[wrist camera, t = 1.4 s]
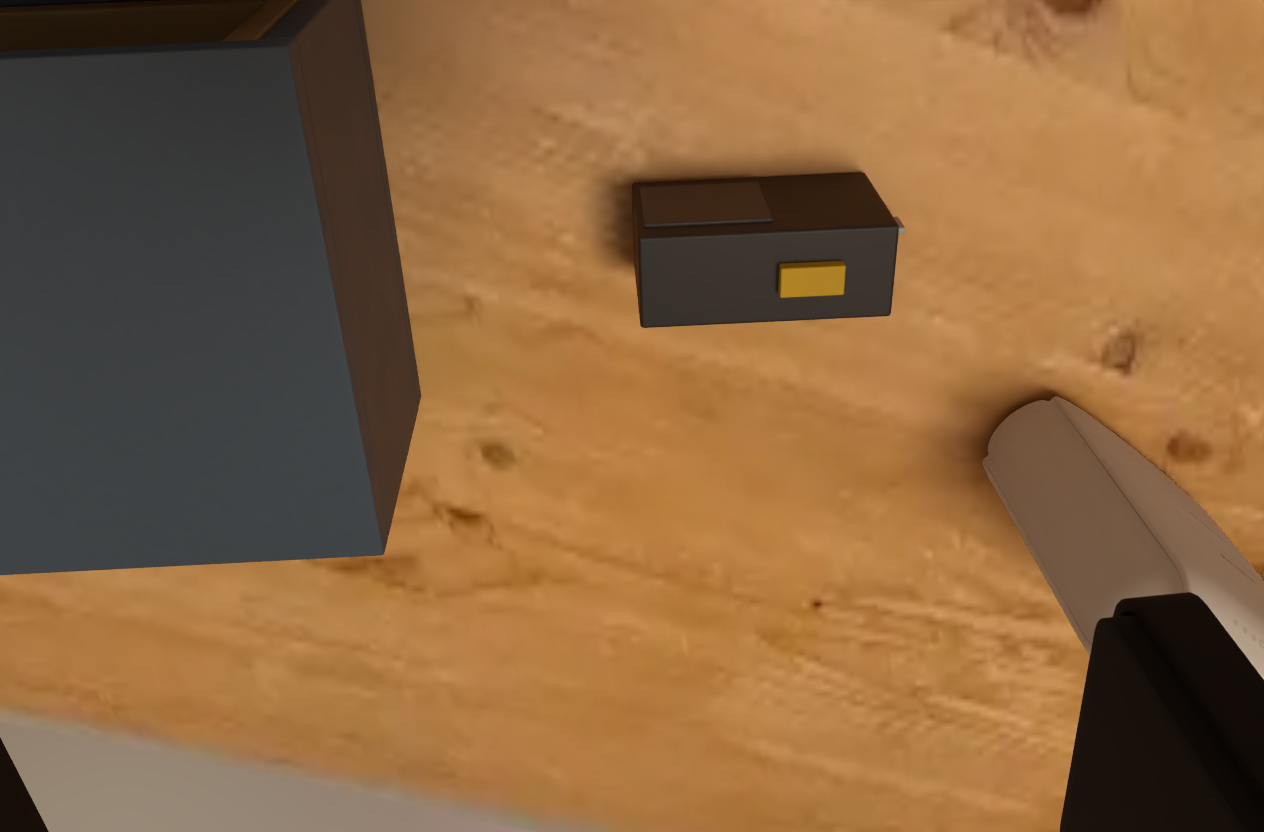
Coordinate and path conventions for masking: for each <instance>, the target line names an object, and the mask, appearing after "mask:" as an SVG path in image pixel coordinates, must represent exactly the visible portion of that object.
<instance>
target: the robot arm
mask: <svg viewBox="0 0 1264 832" xmlns="http://www.w3.org/2000/svg"><path fill="white" fill-rule="evenodd" d="M0 832H48V830H47V828H46V826H45V824H44V822H43V820H42V818H41V816H40V814H39V812H38V810H37V808H36V806H35V804H34V803H33V801H32V799H31V797H30V795H29V793H28V791H27V789H26V787H25V785H24V783H23V781H22V779H21V777H20V775H19V773H18V771H17V769H16V767H15V765H14V764H13V762H12V760H11V758H10V756H9V754H8V752H7V750H6V748H5V746H4V744H3V742H2V740H1V738H0ZM1060 832H1264V679H1263V678H1262V677H1261V675H1260V674H1259V673H1258V671H1257V670H1256V669H1255V667H1254V666H1253V665H1252V664H1251V662H1250V661H1249V660H1248V658H1247V657H1246V656H1245V654H1244V653H1243V652H1242V650H1241V649H1240V648H1239V646H1238V645H1237V644H1236V642H1235V641H1234V640H1233V638H1232V637H1231V636H1230V635H1229V633H1228V632H1227V631H1226V629H1225V628H1224V627H1223V625H1222V624H1221V623H1220V621H1219V620H1218V619H1217V617H1216V616H1215V615H1214V613H1213V612H1212V611H1211V609H1210V608H1209V607H1208V606H1207V604H1206V603H1205V602H1204V601H1203V600H1202V599H1201V598H1200V597H1199V596H1198V595H1195V594H1193V593H1191V592H1186V593H1175V594H1165V595H1155V596H1145V597H1134V598H1126V599H1121V600H1120V601H1119V603H1118V604H1117V605H1116V607H1115V611H1114V614H1113V617H1108V618H1101V619H1100V620H1099V621H1098V622H1097V624H1096V628H1095V631H1094V637H1093V642H1092V648H1091V654H1090V659H1089V665H1088V671H1087V676H1086V682H1085V688H1084V693H1083V699H1082V705H1081V711H1080V716H1079V722H1078V728H1077V733H1076V739H1075V745H1074V750H1073V756H1072V762H1071V767H1070V773H1069V779H1068V784H1067V790H1066V796H1065V801H1064V807H1063V813H1062V818H1061V824H1060Z"/></svg>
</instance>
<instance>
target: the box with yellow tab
mask: <svg viewBox="0 0 1264 832" xmlns="http://www.w3.org/2000/svg"><path fill="white" fill-rule="evenodd" d="M632 213H633V241H634V267H635V276H636V286H637V296H638V305H639V315H640V325H641V327H643V328H649V327H670V326H690V325H711V324H731V323H752V322H773V321H793V320H814V319H834V318H855V317H876V316H889V315H890V313H891V305H892V295H893V285H894V274H895V264H896V253H897V243H898V234H903V233H905V227H904V225H903V224H902V222H901V221H900V219H899V218H898V217H893V216H892V215H891V213H890V212H889V210H888V208H887V207H886V205H885V204H884V202H883V201H882V199H881V198H880V196H879V194H878V193H877V191H876V190H875V188H874V187H873V185H872V184H871V182H870V181H869V179H868V177H867V176H866V174H865V173H846V174H824V175H803V176H781V177H760V178H738V179H717V180H695V181H673V182H652V183H634V184H632Z"/></svg>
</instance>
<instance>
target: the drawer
mask: <svg viewBox="0 0 1264 832" xmlns="http://www.w3.org/2000/svg"><path fill="white" fill-rule="evenodd" d="M300 1H301V0H160V1H137V2H114V3H91V4H68V5H45V6H22V7H0V51H17V50H39V49H62V48H85V47H107V46H130V45H152V44H175V43H198V42H220V41H243V40H261V39H262V38H263V37H264V36H265V35H266V34H267V33H268V32H269V31H270V30H271V29H272V28H273V27H274V26H275V25H276V24H277V23H278V22H279V21H280V20H281V19H282V18H283V17H284V16H285V15H286V14H287V13H288V12H289V11H290V10H291V9H293V8H294V7H295V6H296V5H297V4H298V3H299V2H300Z"/></svg>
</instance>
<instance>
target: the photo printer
mask: <svg viewBox="0 0 1264 832" xmlns="http://www.w3.org/2000/svg"><path fill="white" fill-rule="evenodd" d="M982 463H983V466H984V469H985V471H986V474H987V476H988V478H989V480H990V481H991V483H992V485H993V487H994V489H995V490H996V492H997V494H998V495H999V497H1000V499H1001V501H1002V503H1003V504H1004V506H1005V508H1006V510H1007V511H1008V513H1009V515H1010V517H1011V518H1012V520H1013V522H1014V524H1015V525H1016V527H1017V529H1018V531H1019V532H1020V534H1021V536H1022V538H1023V539H1024V541H1025V543H1026V545H1027V547H1028V548H1029V550H1030V552H1031V554H1032V556H1033V557H1034V559H1035V561H1036V563H1037V564H1038V566H1039V568H1040V570H1041V571H1042V573H1043V575H1044V577H1045V579H1046V580H1047V582H1048V584H1049V586H1050V587H1051V589H1052V591H1053V593H1054V595H1055V596H1056V598H1057V600H1058V602H1059V604H1060V605H1061V607H1062V609H1063V611H1064V612H1065V614H1066V616H1067V618H1068V620H1069V621H1070V623H1071V625H1072V627H1073V629H1074V631H1075V632H1076V634H1077V636H1078V638H1079V639H1080V641H1081V642H1082V644H1083V646H1084V647H1085V649H1086V650H1087V652H1088V653H1089V654H1091V648H1092V642H1093V637H1094V631H1095V628H1096V624H1097V622H1098V621H1099V620H1100V619H1101V618H1108V617H1113V614H1114V611H1115V607H1116V605H1117V604H1118V603H1119V601H1120V600H1121V599H1126V598H1134V597H1145V596H1155V595H1165V594H1175V593H1186V592H1191V593H1193V594H1195V595H1198V596H1199V597H1200V598H1201V599H1202V600H1203V601H1204V602H1205V603H1206V604H1207V606H1208V607H1209V608H1210V609H1211V611H1212V612H1213V613H1214V615H1215V616H1216V617H1217V619H1218V620H1219V621H1220V623H1221V624H1222V625H1223V627H1224V628H1225V629H1226V631H1227V632H1228V633H1229V635H1230V636H1231V637H1232V638H1233V640H1234V641H1235V642H1236V644H1237V645H1238V646H1239V648H1240V649H1241V650H1242V652H1243V653H1244V654H1245V656H1246V657H1247V658H1248V660H1249V661H1250V662H1251V664H1252V665H1253V666H1254V667H1255V669H1256V670H1257V671H1258V673H1259V674H1260V675H1261V677H1262V678H1263V679H1264V580H1263V579H1262V578H1261V576H1260V575H1259V574H1258V573H1257V571H1256V570H1255V569H1254V568H1253V567H1252V565H1251V564H1250V563H1249V562H1248V560H1247V559H1246V558H1245V557H1244V556H1243V554H1242V553H1241V552H1240V551H1239V549H1238V548H1237V547H1236V546H1235V545H1234V543H1233V542H1232V541H1231V540H1230V539H1229V537H1228V536H1227V535H1226V534H1225V533H1224V532H1223V530H1222V529H1221V528H1220V527H1219V526H1218V524H1217V523H1216V522H1215V521H1214V520H1213V519H1212V518H1211V516H1210V515H1209V514H1208V513H1207V512H1206V511H1205V510H1204V509H1203V508H1202V507H1201V506H1200V505H1199V504H1198V503H1196V502H1195V501H1194V500H1193V499H1192V498H1191V497H1190V496H1189V495H1188V494H1187V493H1186V492H1184V491H1183V490H1182V489H1181V488H1180V487H1179V486H1178V485H1177V484H1175V483H1174V482H1173V481H1172V480H1171V479H1170V478H1169V477H1167V476H1166V475H1165V474H1164V473H1163V472H1162V471H1160V470H1159V469H1158V468H1157V467H1156V466H1154V465H1153V464H1152V463H1151V462H1150V461H1148V460H1147V459H1146V458H1145V457H1143V456H1142V455H1141V454H1140V453H1139V452H1137V451H1136V450H1135V449H1134V448H1132V447H1131V446H1130V445H1129V444H1127V443H1126V442H1125V441H1123V440H1122V439H1121V438H1120V437H1118V436H1117V435H1116V434H1114V433H1113V432H1112V431H1110V430H1109V429H1108V428H1107V427H1105V426H1104V425H1103V424H1101V423H1100V422H1099V421H1097V420H1096V419H1095V418H1093V417H1092V416H1090V415H1089V414H1088V413H1086V412H1085V411H1083V410H1082V409H1080V408H1079V407H1077V406H1075V405H1074V404H1072V403H1070V402H1068V401H1066V400H1064V399H1062V398H1060V397H1057V396H1055V397H1053V398H1052V399H1051V400H1050V401H1046V400H1039V401H1035V402H1032V403H1030V404H1027V405H1025V406H1023V407H1021V408H1019V409H1018V410H1016V411H1015V412H1013V413H1012V414H1010V415H1009V416H1008V417H1007V418H1006V419H1005V420H1004V421H1003V422H1002V423H1001V424H1000V425H999V426H998V427H997V429H996V430H995V432H994V433H993V435H992V437H991V439H990V441H989V444H988V456H987V457H985V458H984V459H983V461H982Z"/></svg>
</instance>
